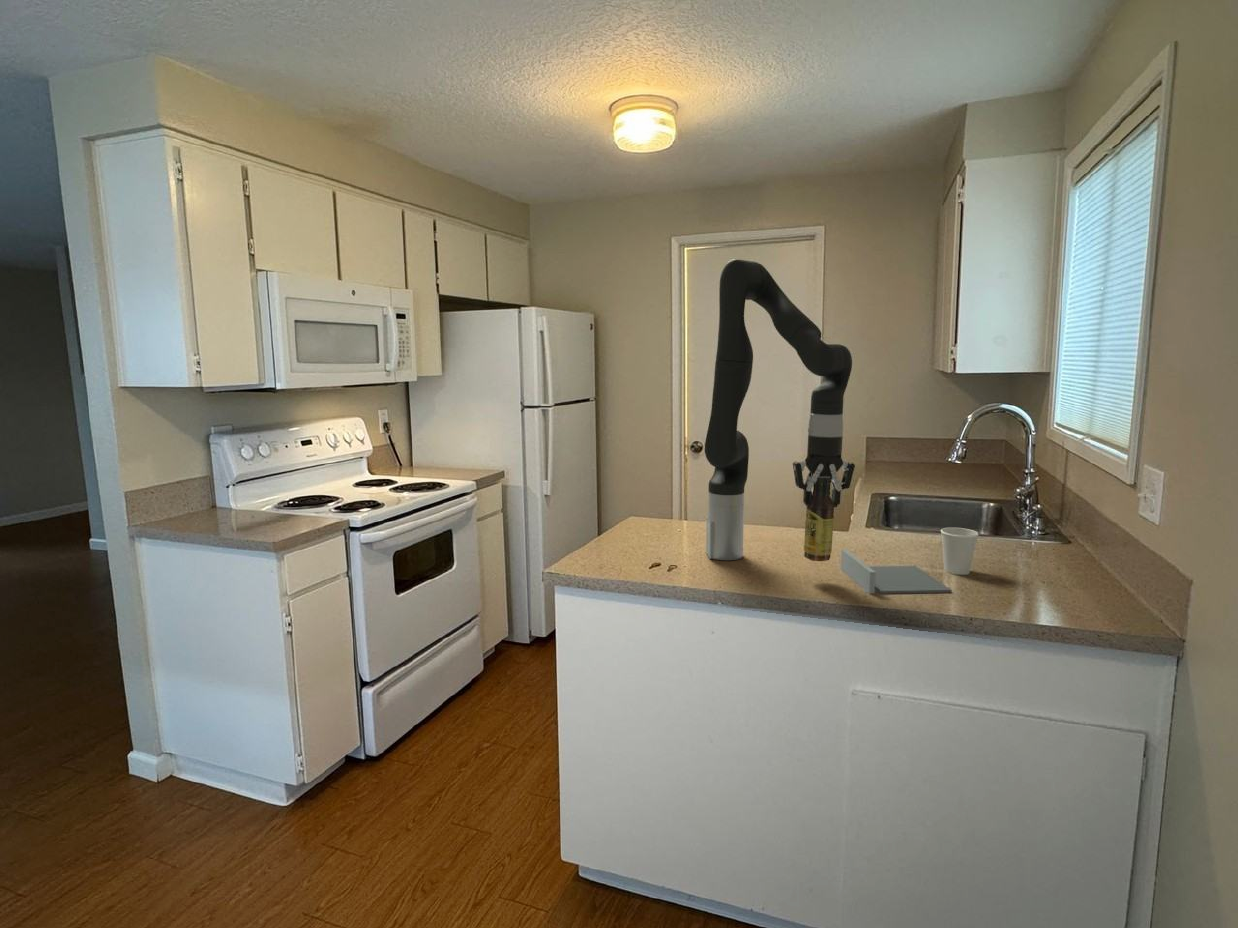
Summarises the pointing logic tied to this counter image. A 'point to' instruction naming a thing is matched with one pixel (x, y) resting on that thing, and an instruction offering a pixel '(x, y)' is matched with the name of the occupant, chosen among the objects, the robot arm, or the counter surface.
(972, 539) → the dixie cup
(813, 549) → the sauce bottle
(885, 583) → the slate mat
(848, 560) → the low wall
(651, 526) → the counter surface
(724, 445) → the robot arm
